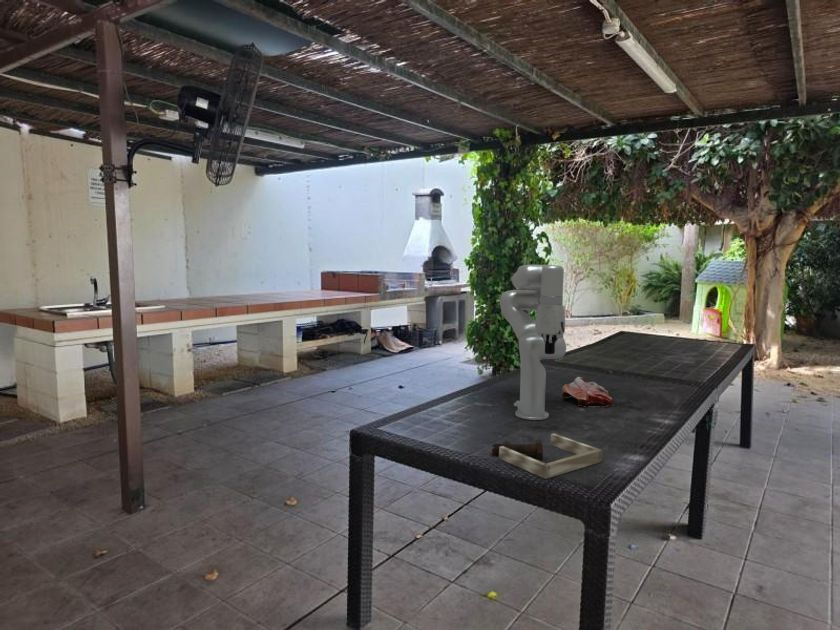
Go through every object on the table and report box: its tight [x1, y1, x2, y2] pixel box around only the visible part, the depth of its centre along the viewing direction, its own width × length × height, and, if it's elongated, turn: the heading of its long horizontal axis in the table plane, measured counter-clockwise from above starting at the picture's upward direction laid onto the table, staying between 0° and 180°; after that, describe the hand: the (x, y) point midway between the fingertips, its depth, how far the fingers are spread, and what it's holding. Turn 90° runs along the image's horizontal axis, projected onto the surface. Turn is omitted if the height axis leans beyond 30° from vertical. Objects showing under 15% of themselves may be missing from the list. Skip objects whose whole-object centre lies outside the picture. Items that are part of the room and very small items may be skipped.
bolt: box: [491, 439, 544, 460], centre depth 162 cm, size 6×5×15 cm
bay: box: [498, 433, 603, 480], centre depth 159 cm, size 18×24×4 cm
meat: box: [561, 376, 613, 407], centre depth 228 cm, size 21×21×10 cm
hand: (549, 353), depth 187 cm, fingers closed
